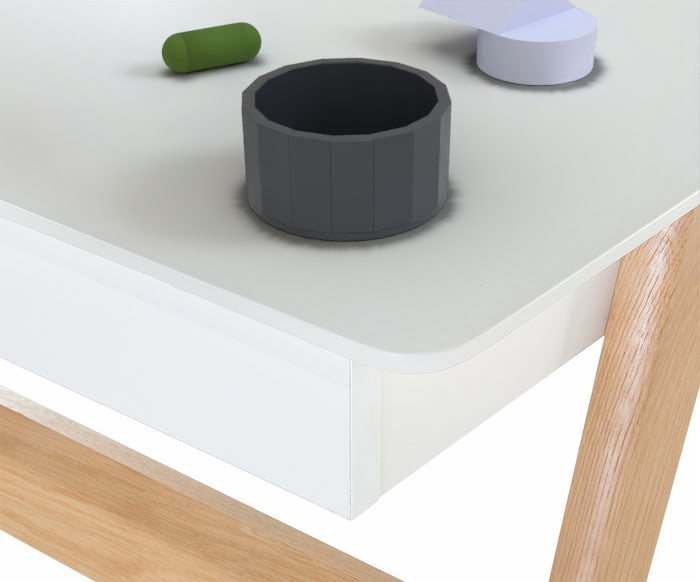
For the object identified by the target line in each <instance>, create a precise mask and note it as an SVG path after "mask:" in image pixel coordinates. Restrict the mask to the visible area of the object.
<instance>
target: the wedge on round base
mask: <svg viewBox="0 0 700 582" xmlns="http://www.w3.org/2000/svg"><path fill="white" fill-rule="evenodd" d="M418 8H420V9H423V10H424V11H425V10H426V11H428V12H431V13H434V14H436V15H440V16H442V17H444V18H447V19H451V20H454V21H456V22H459V23H462V24H465V25H468V26H470V27H473V28H475V29H476V28H477V42H476V43H477V45H476V66H477V68H479V69H480V71H481V72H482V73H484V74H486V75H488V76H489V77H492V78H494V79H497V80H500V81H503V82H507V83H511V84H518V85H526V86H527V85H528V86H554V85H562V84H567V83H572V82H575V81H578V80H580V79H583V78H585V77H587V76H588V75H589V74H590V73H591V72H592V71H593V68H594V63H595V61H594V60H595V50H596V41H597V32H598V20H597V18H596V17H595V16H594V15H593V14H592V13H590V12H589V11H587V10H584V9H582V8H580V7H577V6H575V4H573V3H572V2H571V1H570V0H422V1H421V2H420V4H419V5H418Z"/></svg>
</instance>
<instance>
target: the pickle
mask: <svg viewBox="0 0 700 582" xmlns="http://www.w3.org/2000/svg"><path fill="white" fill-rule="evenodd" d="M261 36H262V35H261V33H260V31H259V30H258V29H257V28H256V26H254V25H252V24H251V23H249V22H244V21H239V22H233V23H228V24H227V23H226V24H222V25H216V26H210V27H204V28H198V29H191V30H187V31H181V32H176V33H173V34H171V35H169V36H168V37H167V38H166V39H165V40H164V42H163V44H162V47H161V57H162V60H163V63H164V64H165V65H166V66H167V67H168V69H170V70H171V71H173V72H175V73H179V74H185V73H190V72H196V71H202V70H207V69H213V68H218V67H224V66H228V65H233V64H239V63H245V62H248V61H251V60H253V59H254V58H256V57H257V55H258V54H259V53H260V50H261V48H262V37H261Z"/></svg>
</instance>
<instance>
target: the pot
mask: <svg viewBox="0 0 700 582" xmlns="http://www.w3.org/2000/svg"><path fill="white" fill-rule="evenodd" d="M452 103H453V102H452V98H451V96H450V92H449V90H448V86H447V84H445V82H444V81H443V82H442V81H441V80H440V79H438V78H437V77H435V75H433V74H431V72H430V73H429V71H427V70H425V69H421V68H418V67H414V66H411V65H408V64H405V63H401V62H398V61H391V60H382V59H374V58H366V57H337V58H336V57H335V58H317V59H311V60H306V61H302V62H296V63H292V64H286V65H283V66H281V67H278V68H276V69H273V70H271V71H269V72H266V73H264V74H261V75H258V77H256V78H255V79H254V80H253V81H252V82H251V83H250V84H249V85H248V86H246V88H245V89H244V90H242V92H241V107H240V109H241V123H242V137H243V153H244V169H245V171H244V172H245V185H246V187H245V188H246V197H247V200H248V203H249V206H250V208H251V210H252V211H253V212H254V213H255V214H256V216H258V218H260V219H261V220H262V221H264V223H267V224H268V225H270V226H272V227H274V228H276V229H278V230H281V231H283V232H286V233H289V234H292V235H296V236H299V237H304V238H309V239H316V240H323V241H334V242H337V241H338V242H348V241H349V242H355V241H368V240H375V239H381V238H387V237H391V236H395V235H398V234H402V233H405V232H408V231H411V230H413V229H415V228H417V227H419V226H421V225H423V224H425V223H427V222H428V221H430V220H431V219H432V218H433V217H434V216H436V215H437V214H438V213H439V211H440V210H441V209H442V208H443V206H444V204H445V202H446V199H447V193H448V191H449V180H450V179H449V178H450V177H449V175H450V151H451V150H450V149H451V128H452V126H451V125H452Z"/></svg>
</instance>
